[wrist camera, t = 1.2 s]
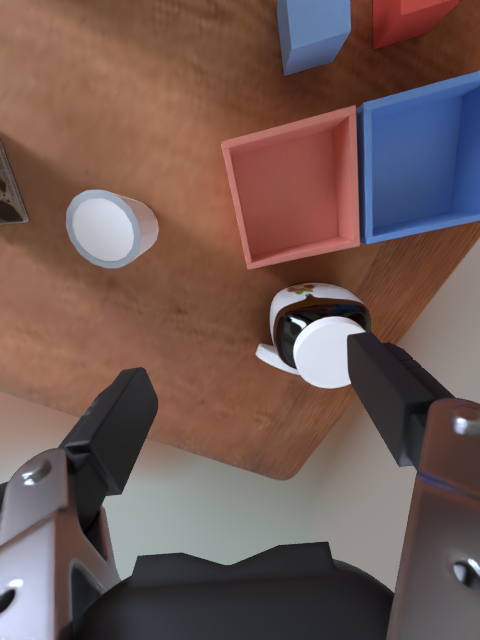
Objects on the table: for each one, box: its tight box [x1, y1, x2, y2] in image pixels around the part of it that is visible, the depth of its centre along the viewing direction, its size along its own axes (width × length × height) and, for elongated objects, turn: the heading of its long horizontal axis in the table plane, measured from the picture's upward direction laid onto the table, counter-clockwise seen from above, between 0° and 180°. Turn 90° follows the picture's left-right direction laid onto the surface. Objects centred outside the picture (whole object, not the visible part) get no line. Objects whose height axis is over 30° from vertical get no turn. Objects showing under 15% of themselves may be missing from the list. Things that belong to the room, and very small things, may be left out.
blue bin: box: [356, 71, 480, 244], centre depth 24 cm, size 11×11×5 cm
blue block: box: [277, 0, 351, 76], centre depth 20 cm, size 4×4×4 cm
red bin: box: [221, 105, 360, 270], centre depth 25 cm, size 11×11×5 cm
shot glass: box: [66, 190, 159, 268], centre depth 26 cm, size 7×7×7 cm
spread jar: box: [256, 282, 371, 388], centre depth 28 cm, size 12×11×12 cm
